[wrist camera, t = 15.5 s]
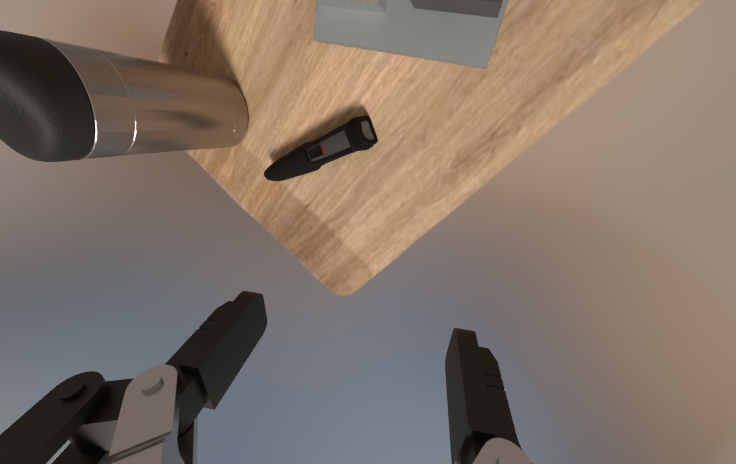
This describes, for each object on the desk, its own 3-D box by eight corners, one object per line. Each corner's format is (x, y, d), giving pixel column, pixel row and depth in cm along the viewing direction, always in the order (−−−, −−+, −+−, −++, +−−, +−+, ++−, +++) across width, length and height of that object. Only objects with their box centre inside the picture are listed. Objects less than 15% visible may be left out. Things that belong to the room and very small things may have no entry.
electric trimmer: (272, 159, 39) (256, 162, 36) (369, 112, 32) (358, 111, 29) (283, 184, 39) (269, 189, 37) (380, 144, 33) (371, 146, 30)
